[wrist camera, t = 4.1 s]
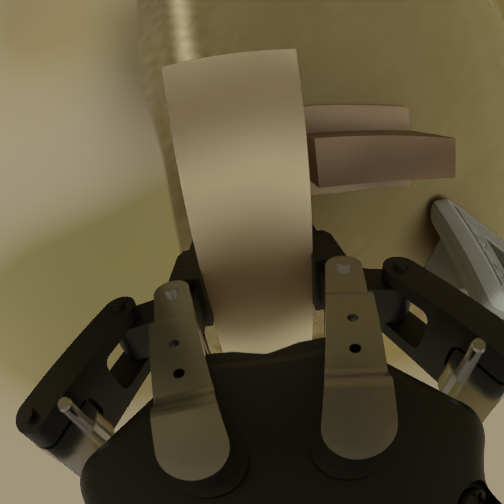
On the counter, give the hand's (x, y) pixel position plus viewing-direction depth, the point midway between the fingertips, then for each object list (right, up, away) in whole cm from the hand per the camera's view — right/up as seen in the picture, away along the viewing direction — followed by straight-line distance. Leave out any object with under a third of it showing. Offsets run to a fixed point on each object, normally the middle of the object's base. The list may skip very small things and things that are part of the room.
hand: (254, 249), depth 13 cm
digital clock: (+22, +1, +9) cm, 23 cm away
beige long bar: (0, 0, +1) cm, 1 cm away
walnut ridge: (+7, +7, +4) cm, 11 cm away
